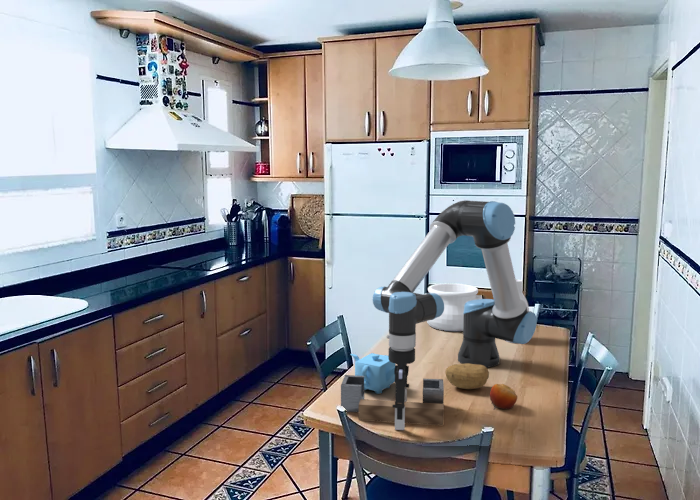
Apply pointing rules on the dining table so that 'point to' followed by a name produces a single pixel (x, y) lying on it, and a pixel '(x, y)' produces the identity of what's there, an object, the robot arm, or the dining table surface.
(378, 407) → the rail
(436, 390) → the bracket
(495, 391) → the fruit
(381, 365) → the teapot
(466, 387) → the potato
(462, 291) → the pot
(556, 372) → the dining table surface
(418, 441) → the dining table surface
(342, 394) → the bracket
